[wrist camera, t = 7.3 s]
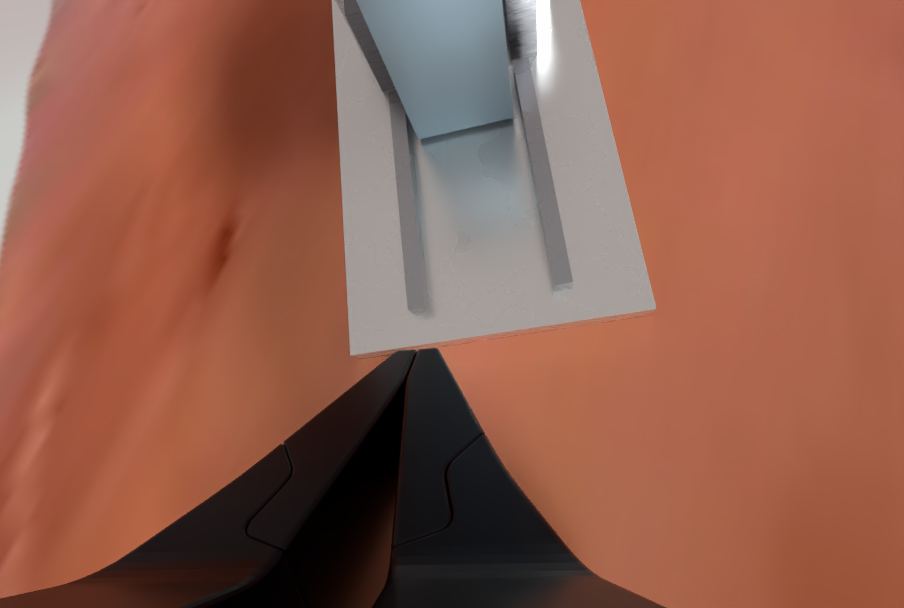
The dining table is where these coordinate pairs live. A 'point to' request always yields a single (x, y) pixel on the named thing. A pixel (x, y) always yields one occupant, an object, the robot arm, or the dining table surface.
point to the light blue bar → (444, 60)
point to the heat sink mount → (484, 198)
